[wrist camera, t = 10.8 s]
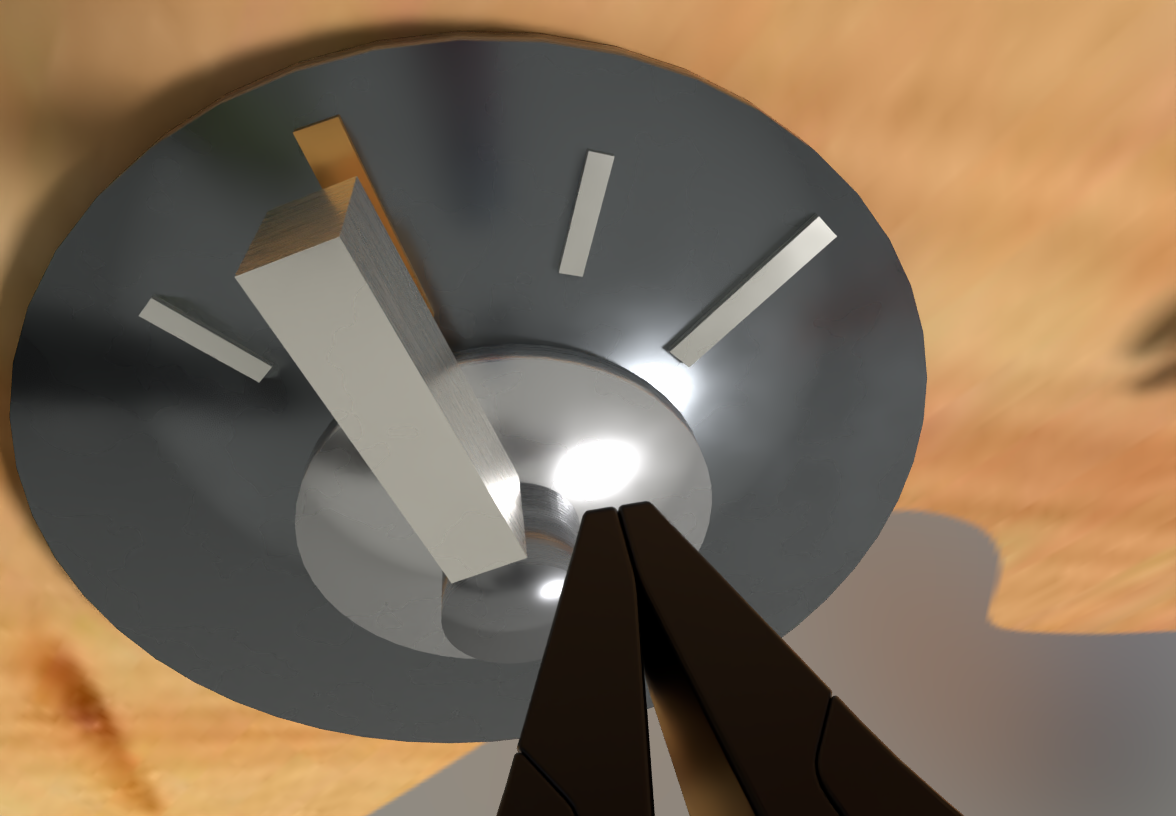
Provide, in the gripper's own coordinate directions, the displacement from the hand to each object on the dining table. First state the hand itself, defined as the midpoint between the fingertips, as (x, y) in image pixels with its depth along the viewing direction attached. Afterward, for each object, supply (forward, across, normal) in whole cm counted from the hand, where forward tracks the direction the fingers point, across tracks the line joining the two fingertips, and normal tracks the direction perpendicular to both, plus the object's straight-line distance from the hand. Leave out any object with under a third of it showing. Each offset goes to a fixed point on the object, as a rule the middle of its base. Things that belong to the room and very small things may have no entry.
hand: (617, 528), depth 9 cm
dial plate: (+11, +2, +9) cm, 15 cm away
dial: (+10, +3, +7) cm, 12 cm away
